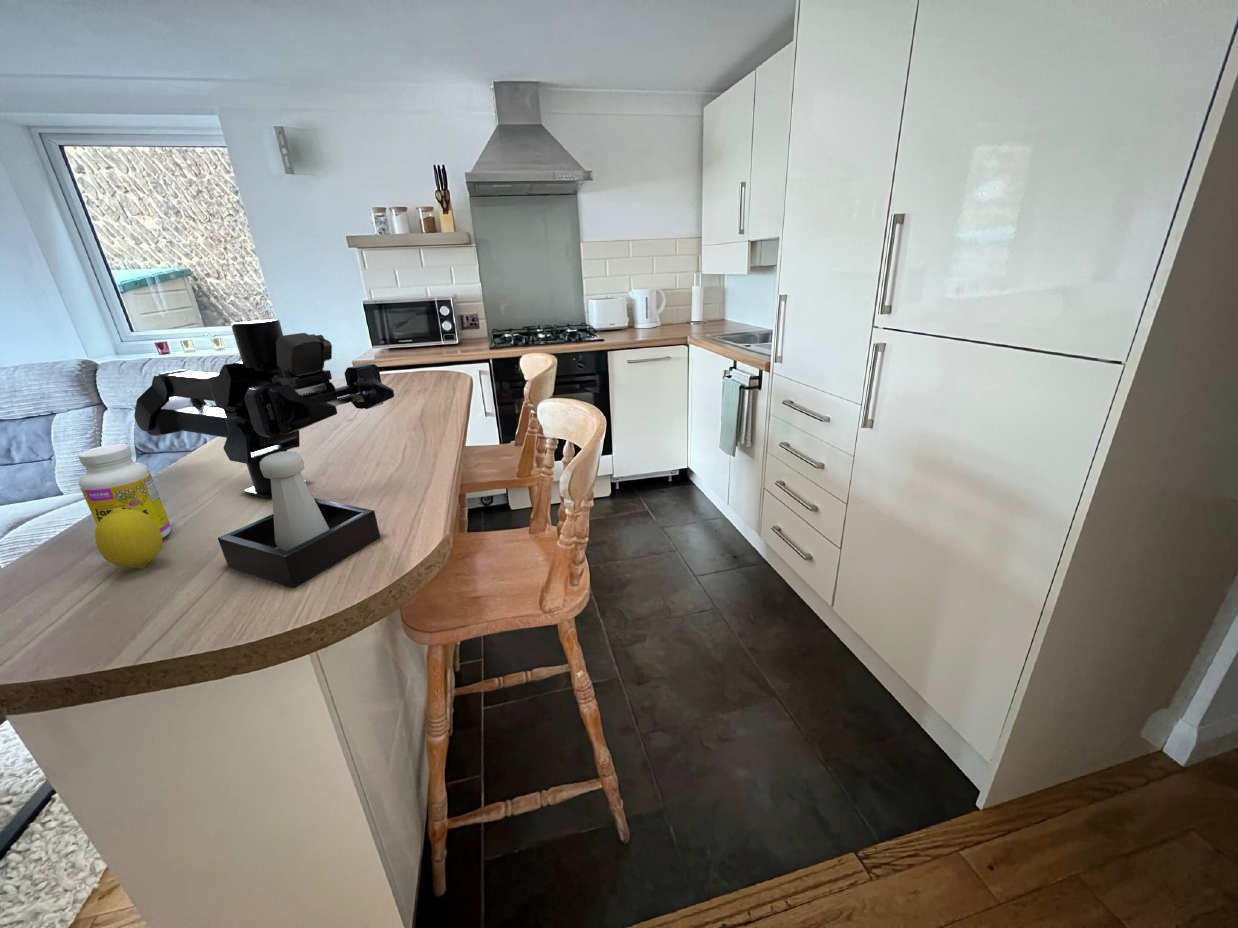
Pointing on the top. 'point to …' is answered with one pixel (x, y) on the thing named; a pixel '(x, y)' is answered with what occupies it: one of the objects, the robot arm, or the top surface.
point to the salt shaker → (291, 501)
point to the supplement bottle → (120, 485)
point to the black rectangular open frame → (297, 565)
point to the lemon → (128, 538)
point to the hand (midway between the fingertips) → (365, 401)
